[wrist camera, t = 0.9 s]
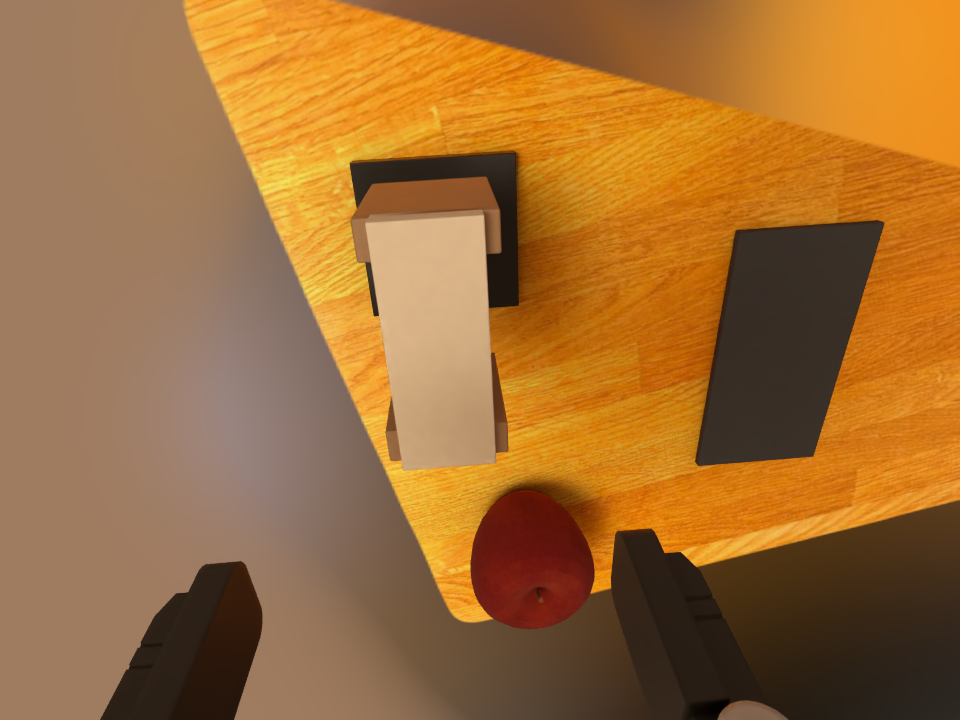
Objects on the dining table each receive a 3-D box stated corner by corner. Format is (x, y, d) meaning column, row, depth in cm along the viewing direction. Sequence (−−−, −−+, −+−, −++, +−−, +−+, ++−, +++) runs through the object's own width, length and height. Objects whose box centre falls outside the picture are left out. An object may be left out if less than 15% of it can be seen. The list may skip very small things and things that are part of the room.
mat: (735, 230, 37) (739, 232, 36) (878, 220, 37) (885, 222, 36) (694, 461, 46) (697, 466, 46) (809, 452, 47) (813, 456, 46)
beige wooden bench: (371, 183, 24) (346, 224, 18) (486, 176, 24) (502, 213, 18) (400, 385, 29) (388, 472, 23) (495, 378, 29) (510, 462, 23)
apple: (580, 538, 50) (610, 639, 41) (478, 557, 50) (486, 661, 41) (568, 459, 45) (599, 553, 36) (457, 481, 46) (460, 579, 37)
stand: (351, 160, 33) (285, 228, 19) (514, 150, 33) (565, 209, 19) (375, 310, 38) (335, 453, 24) (517, 300, 38) (560, 435, 24)
